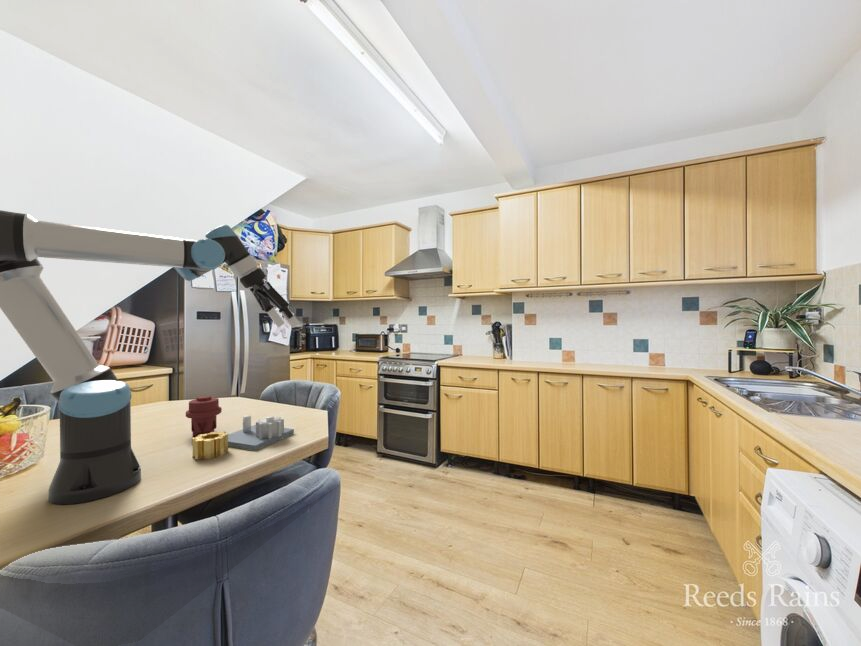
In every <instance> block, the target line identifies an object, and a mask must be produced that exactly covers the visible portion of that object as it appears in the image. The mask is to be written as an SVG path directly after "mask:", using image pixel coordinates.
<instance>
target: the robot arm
mask: <svg viewBox="0 0 861 646" xmlns="http://www.w3.org/2000/svg"><path fill="white" fill-rule="evenodd" d="M204 236H205V238H202V239H199V240H196V239H188V238H182V237H181V238H179V237H173V236H165V235H164V236H163V235H155V234H147V233H139V232H131V231H124V230H117V229H116V230H115V229H108V228H101V227H93V226H92V227H91V226H84V225H77V224H69V223H61V222H53V221H44V220H43V221H42V220H37V219H36V218H34V217H33V216H32V215H30V214H28V213H27V214H26V213H21V212H14V211H13V212H12V211H8V210H7V211H6V210H0V309H1V310H0V311H2V313H3V314H4V315H5V317H6V318H7V320H8V321H9V322H10V323H11V325H12V327H14V329H15V330H16V331H17V333H18V335H19V336H20V337H21V338H22V339H21V340H23V341H24V343H25V344H26V345H27V347H28V348H29V350H30V351H31V352H32V354H33V356H35V357H36V359H37V361H38V363H39V364H41V365H40V366H42V367H43V369H44V370H45V372H46V373H47V374H48V376H49V378H50V379H51V380H52V381H53V385H52V387H51V390H50V393H51V395H52V396H53V398H54V400H56V402H57V407H58V409H59V453H60V455H59V456H60V457H59V463H58V466H57V468H56V470H55V473H54V476H53V478H52V480H51V483H50V485H49V488H48V501H49V502H50V503H51V504H55V505H73V504H74V505H75V504H79V503H80V504H81V503H86V502H91V501H95V500H99V499H103V498H107V497H110V496H112V495H116V494H119V493H121V492H123V491H125V490H127V489H130V488H131V487H133V486H134V485H136V484H137V483H138V482H140V480H142V479H141V478H142V468H141V466H140V463H139V461H138V459H137V457H136V454H135V453H134V451H133V449H132V428H131V427H132V422H131V421H132V420H131V419H132V418H131V402H132V395H133V394H132V391H131V387H130V385H129V384H128V383H126V382H124V381H122V380H119V379H118V378H117V376H116V374H115V373H114V372H113V370H112V368H111V367H110V366H106V365H103V364H102V365H101V364H99V363H98V361H97V359H96V358H95V357H94V355H93V354H92V353H91V351H90V350H89V348H88V346H87V345H86V343H85V342H84V341H83V339H82V337H81V336H80V335H79V333H78V332H77V330H76V329H75V327H74V325H73V323H71V321H70V319H69V318H68V316H67V315H66V314H65V312H64V311H63V309H62V307H61V306H60V305H59V303H58V302H57V300H56V299H55V297H54V296H53V294H52V293H51V291H50V290H49V288H48V287H47V286H46V284H45V283H44V281H43V280H42V278H41V274H42V272H43V269H44V266H43V264H42V263H41V261H40V260H39V258H45V259H57V260H58V259H61V260H73V261H87V262H101V263H114V264H127V265H139V266H140V265H142V266H154V267H155V266H156V267H166V268H173V269H175V271H176V272H177V274H179V275H180V276H181V277H182V278H183V279H184V280H185V281H188V282H191V281H193V280H195V279H198V278H200V277H201V276H203V275H205V274H207V273H209V272H211V271H212V270H216V269H217V268H219V267H220V266H221V265H223V264H224V263H225V264H226V265H227V266H228V269H230V271H231V272H232V273H233V275H234V276H235V278H239V279H238V281H239V283H240V284H241V285H242V286H243V287H244V288H245V289H249V290H250V292H251V294H252V295H253V297H254V298H255V300H256V302H257V303H258V305H259V306H260V308H261V310H262V311H264V312H266V314H267V315H268V317H269V318H270V319H271V320H272V321H273V323H274V325H276V327H277V328H280V327H282V326H283V325H285V323H286V322H287V324H289V325H290V327H291V328H292V329H294V328H296V327H297V326H298V325H299V324H300V321H299V320H298V318H297V317H296V316H295V315H294V313H293V312H292V311H291V308H289V306H290V304H289V302H288V301H287V300H286V299H285V298H284V297H283V296H282V295H281V294H280V293H279V292H278V291H277V290H276V289H275V288H274V287H273V286H272V284H271V283H270V282H269V281H266V282H265V281H264V280H265V279H266V277H267V275H266V273H265V272H264V271H263V269H262V268H261V267H258V266H259V264H258V263H257V261H256V258H255V257H254V256H253V255H251V253H250V252H249V250H248V249H247V248H246V246H245V245H244V243H243V241H241V239H240V237H239V236H238V235H237V233H236V232H235V231H234V230H233V228H232V227H231V226H229V225H228V224H222V225H219V226H217V227H215V228H213V229H212V230H210V231H208V232H207V233H205V235H204ZM271 303H272V304H271ZM274 307H276V308H277V309H279V310H278V312H277V310H276V309H275V308H274ZM280 313H281V315H282V316H283V318H284V319H285V320H286V322H285V321H284V319H283V318H282V317H281V315H280Z"/></svg>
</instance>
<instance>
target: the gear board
mask: <svg viewBox="0 0 861 646" xmlns="http://www.w3.org/2000/svg"><path fill="white" fill-rule="evenodd" d="M293 433H294V434H295V429H294V428H286V427H285V418H281V417H280V416H276V417H275V416H273V415H271V416H266V417H265V418H259V419H258V421H255V424H253V425H252V415H249V414H248V415H247V414H245V415H242V429H240V430H237V431H234V432H232V433H227V434H228V446H230V448H235V447H236V448H237V449H242V450H249V451H255V452H256V451H258V450H260V449H262V447H263V448H265V447H267V446H269V445H271V443H272V444H274V443H276V442H278V441H280V439H281V440H283V439H285V438H287V437H290V436H292V435H294V434H293ZM291 434H292V435H291ZM289 435H290V436H289ZM282 438H283V439H282ZM277 440H278V441H277ZM275 441H276V442H275ZM273 442H274V443H273ZM236 448H235V449H236Z"/></svg>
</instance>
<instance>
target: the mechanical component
mask: <svg viewBox="0 0 861 646" xmlns="http://www.w3.org/2000/svg"><path fill="white" fill-rule="evenodd" d="M219 404H220V401H219V398H218V397H212V396H210V395H202V396H197V398H194V399H192V400H190V401H189V402H188V410H186V411H185V417H186V418H188V419H191V424H190V425H191V426H190V427H191V428H190V429H191V432H192V437H193V436H196V437H197V436H198V435H200V434H207V433H210V432H215V430H216V429H217V424H218V423H217V416H218V415H221V413H222V411H223V410H222V409H223V408H222V407H221V406H219Z"/></svg>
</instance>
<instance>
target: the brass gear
mask: <svg viewBox="0 0 861 646" xmlns="http://www.w3.org/2000/svg"><path fill="white" fill-rule="evenodd" d="M228 434H229V433H226V431H214V432H210V433H207V434H200V435H198V436H196V437H192V441H191V442H192V444H191V446H192V458H194V460H196V459H197V460H198V459H199V460H207V459H208V460H212V459H214V458H217V456H218V457H223V456H224V454H226V453H229V447H228ZM203 458H204V459H203ZM197 460H196V461H197Z"/></svg>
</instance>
